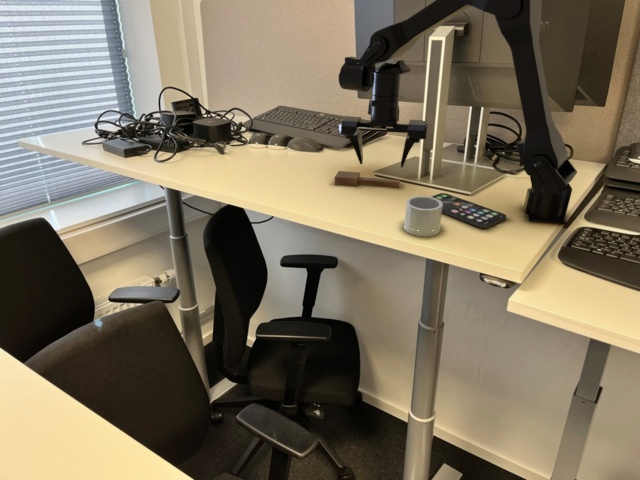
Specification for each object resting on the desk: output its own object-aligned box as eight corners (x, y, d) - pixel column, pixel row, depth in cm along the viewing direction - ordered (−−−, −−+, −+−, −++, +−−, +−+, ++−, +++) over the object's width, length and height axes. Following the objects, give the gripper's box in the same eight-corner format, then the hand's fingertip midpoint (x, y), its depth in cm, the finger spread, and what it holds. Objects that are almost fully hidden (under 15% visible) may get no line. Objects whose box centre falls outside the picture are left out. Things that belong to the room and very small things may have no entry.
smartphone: (443, 192, 96) (508, 215, 86) (442, 195, 97) (507, 218, 86) (419, 201, 92) (484, 226, 82) (418, 204, 93) (484, 229, 82)
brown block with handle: (400, 183, 103) (400, 175, 102) (398, 189, 100) (399, 181, 99) (338, 178, 106) (338, 170, 105) (334, 184, 103) (334, 176, 102)
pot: (440, 222, 85) (443, 197, 83) (439, 238, 80) (442, 211, 78) (405, 219, 87) (408, 194, 84) (402, 234, 81) (404, 208, 79)
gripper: (432, 89, 103) (425, 157, 110) (349, 86, 107) (348, 152, 115) (429, 99, 94) (422, 173, 101) (338, 95, 98) (338, 166, 105)
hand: (381, 165), depth 106 cm, fingers open, 9 cm apart
